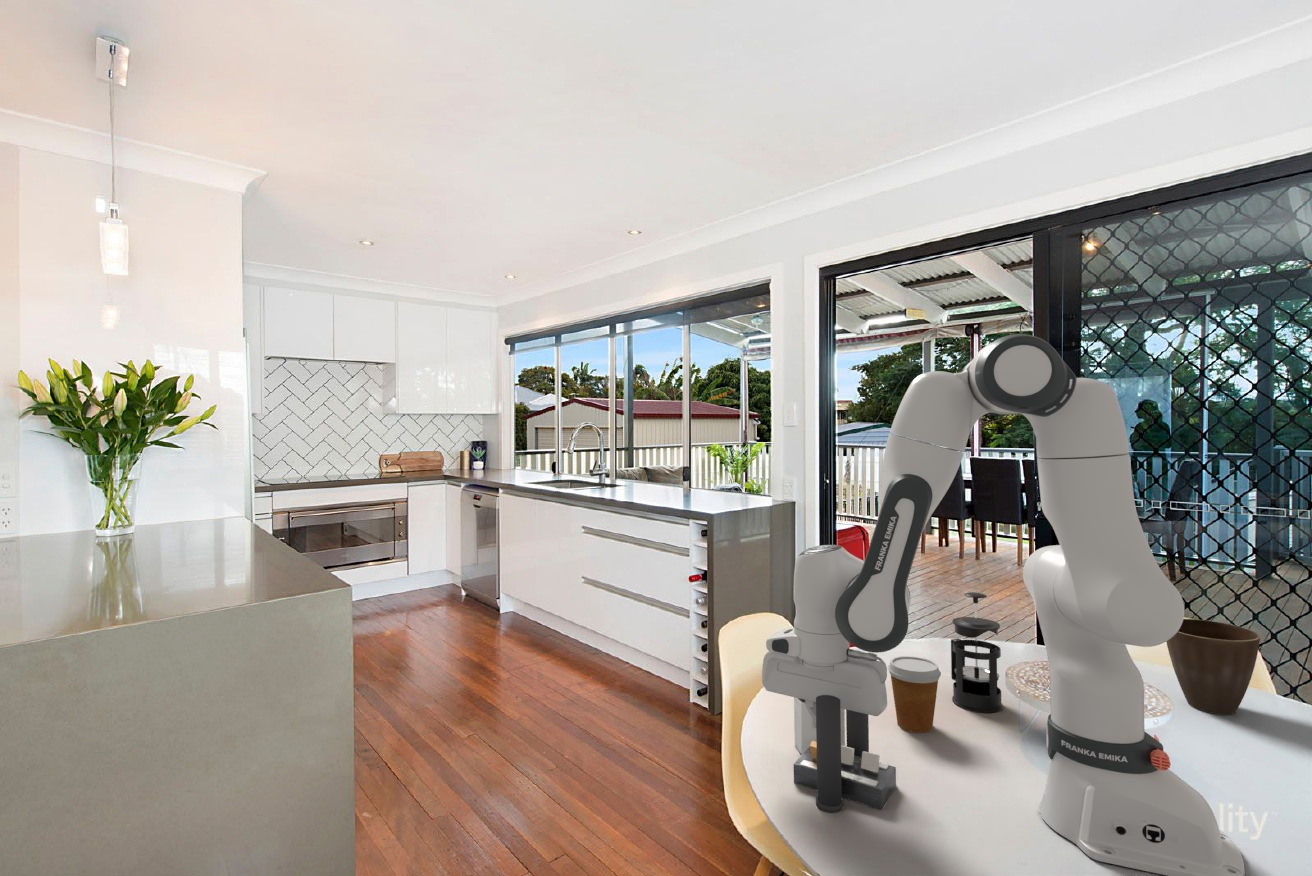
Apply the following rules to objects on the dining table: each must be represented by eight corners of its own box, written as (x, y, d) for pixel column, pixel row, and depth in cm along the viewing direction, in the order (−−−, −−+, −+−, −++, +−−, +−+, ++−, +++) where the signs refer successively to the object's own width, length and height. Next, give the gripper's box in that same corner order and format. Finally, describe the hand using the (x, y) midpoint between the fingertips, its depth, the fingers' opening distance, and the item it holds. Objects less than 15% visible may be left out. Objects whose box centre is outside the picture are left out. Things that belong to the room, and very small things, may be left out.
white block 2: (878, 771, 100) (879, 755, 101) (876, 772, 99) (877, 755, 100) (863, 767, 101) (864, 751, 102) (860, 768, 100) (862, 751, 101)
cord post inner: (873, 763, 109) (871, 670, 109) (866, 774, 105) (864, 677, 105) (850, 757, 111) (848, 665, 111) (842, 767, 108) (841, 672, 108)
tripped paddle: (828, 756, 104) (826, 744, 104) (825, 761, 103) (823, 749, 103) (814, 752, 106) (812, 740, 105) (811, 757, 105) (809, 745, 104)
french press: (1016, 711, 129) (1014, 597, 129) (978, 717, 126) (976, 601, 126) (972, 689, 140) (970, 585, 140) (936, 694, 137) (935, 588, 137)
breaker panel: (896, 785, 102) (895, 765, 102) (882, 810, 95) (881, 788, 95) (811, 761, 110) (811, 743, 110) (793, 782, 103) (793, 762, 103)
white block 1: (853, 764, 102) (854, 748, 103) (850, 765, 101) (852, 749, 102) (838, 760, 104) (839, 744, 104) (836, 761, 103) (837, 745, 103)
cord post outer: (846, 803, 97) (845, 698, 97) (838, 815, 94) (836, 707, 94) (821, 794, 99) (820, 692, 99) (812, 807, 96) (810, 701, 96)
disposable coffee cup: (890, 733, 120) (889, 669, 120) (887, 712, 129) (886, 653, 129) (945, 740, 117) (944, 674, 117) (938, 718, 126) (937, 657, 126)
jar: (819, 766, 108) (818, 695, 108) (785, 747, 115) (784, 680, 115) (854, 751, 113) (853, 684, 113) (819, 734, 120) (818, 670, 120)
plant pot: (1254, 731, 119) (1252, 645, 119) (1155, 706, 130) (1154, 628, 130) (1267, 709, 128) (1266, 629, 128) (1174, 687, 140) (1172, 614, 140)
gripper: (891, 650, 101) (893, 737, 101) (772, 629, 113) (773, 707, 113) (880, 661, 96) (882, 753, 96) (757, 639, 108) (758, 720, 108)
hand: (822, 728), depth 104 cm, fingers closed
